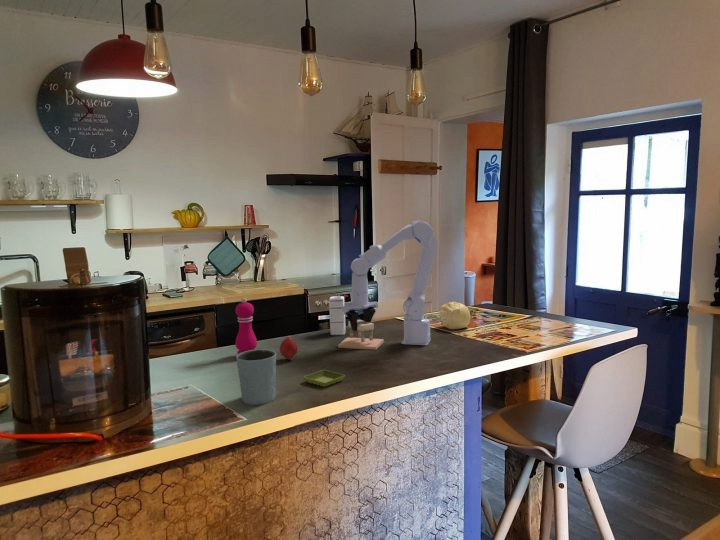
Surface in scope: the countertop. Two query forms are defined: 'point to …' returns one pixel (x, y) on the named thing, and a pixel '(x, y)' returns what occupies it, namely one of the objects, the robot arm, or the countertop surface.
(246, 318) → the pepper mill
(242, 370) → the grey cup
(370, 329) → the stool
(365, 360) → the countertop surface
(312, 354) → the countertop surface
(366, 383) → the countertop surface
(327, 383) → the saucer
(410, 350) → the countertop surface
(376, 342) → the board
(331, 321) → the syrup box
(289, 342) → the pomegranate
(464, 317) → the pale yellow round lump
